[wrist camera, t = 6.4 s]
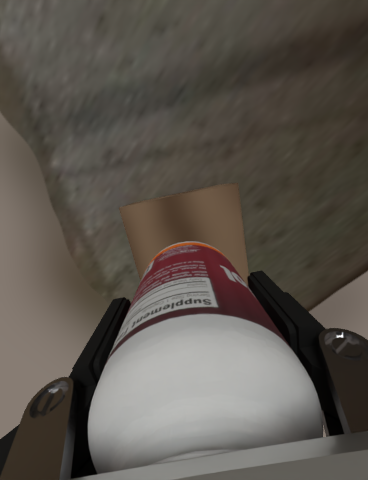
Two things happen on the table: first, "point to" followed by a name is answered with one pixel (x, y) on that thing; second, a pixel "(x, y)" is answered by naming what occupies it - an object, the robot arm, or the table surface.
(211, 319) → the pill bottle
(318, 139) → the table surface
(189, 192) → the walnut block
